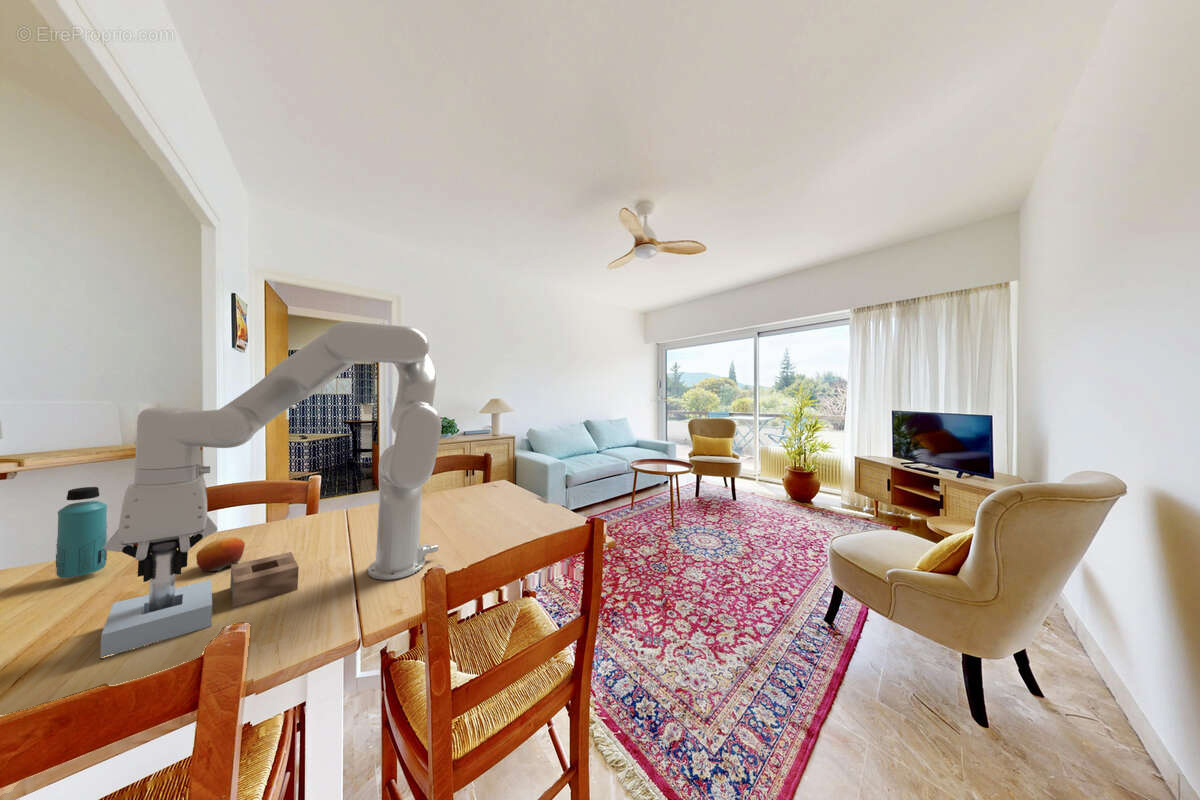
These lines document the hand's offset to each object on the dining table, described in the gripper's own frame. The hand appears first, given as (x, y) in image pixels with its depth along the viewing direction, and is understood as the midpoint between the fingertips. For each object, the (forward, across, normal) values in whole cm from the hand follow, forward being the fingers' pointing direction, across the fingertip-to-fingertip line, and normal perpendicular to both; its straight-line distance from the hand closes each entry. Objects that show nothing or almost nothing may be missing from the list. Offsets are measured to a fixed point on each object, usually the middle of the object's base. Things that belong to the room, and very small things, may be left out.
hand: (163, 574), depth 65 cm
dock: (+10, 0, 0) cm, 10 cm away
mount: (+9, -14, -4) cm, 17 cm away
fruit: (+10, -8, -23) cm, 26 cm away
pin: (+7, 0, 0) cm, 7 cm away
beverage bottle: (+10, +13, -35) cm, 39 cm away
